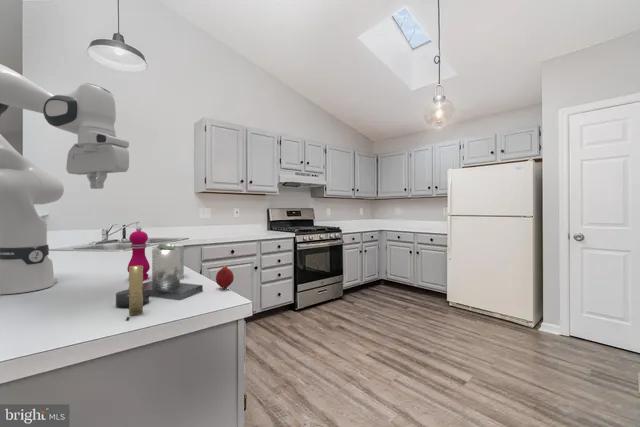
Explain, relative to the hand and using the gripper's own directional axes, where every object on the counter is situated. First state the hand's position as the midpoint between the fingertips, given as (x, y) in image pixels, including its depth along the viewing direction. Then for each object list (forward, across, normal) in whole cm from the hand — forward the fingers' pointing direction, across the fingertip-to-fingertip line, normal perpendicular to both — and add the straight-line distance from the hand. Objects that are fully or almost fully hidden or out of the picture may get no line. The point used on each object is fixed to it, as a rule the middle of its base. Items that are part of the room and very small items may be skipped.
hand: (96, 188), depth 86 cm
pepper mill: (+32, -11, +24) cm, 42 cm away
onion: (+33, +27, +24) cm, 49 cm away
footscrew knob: (+33, +15, 0) cm, 36 cm away
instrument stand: (+33, +12, +5) cm, 35 cm away
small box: (+32, -1, +29) cm, 43 cm away
